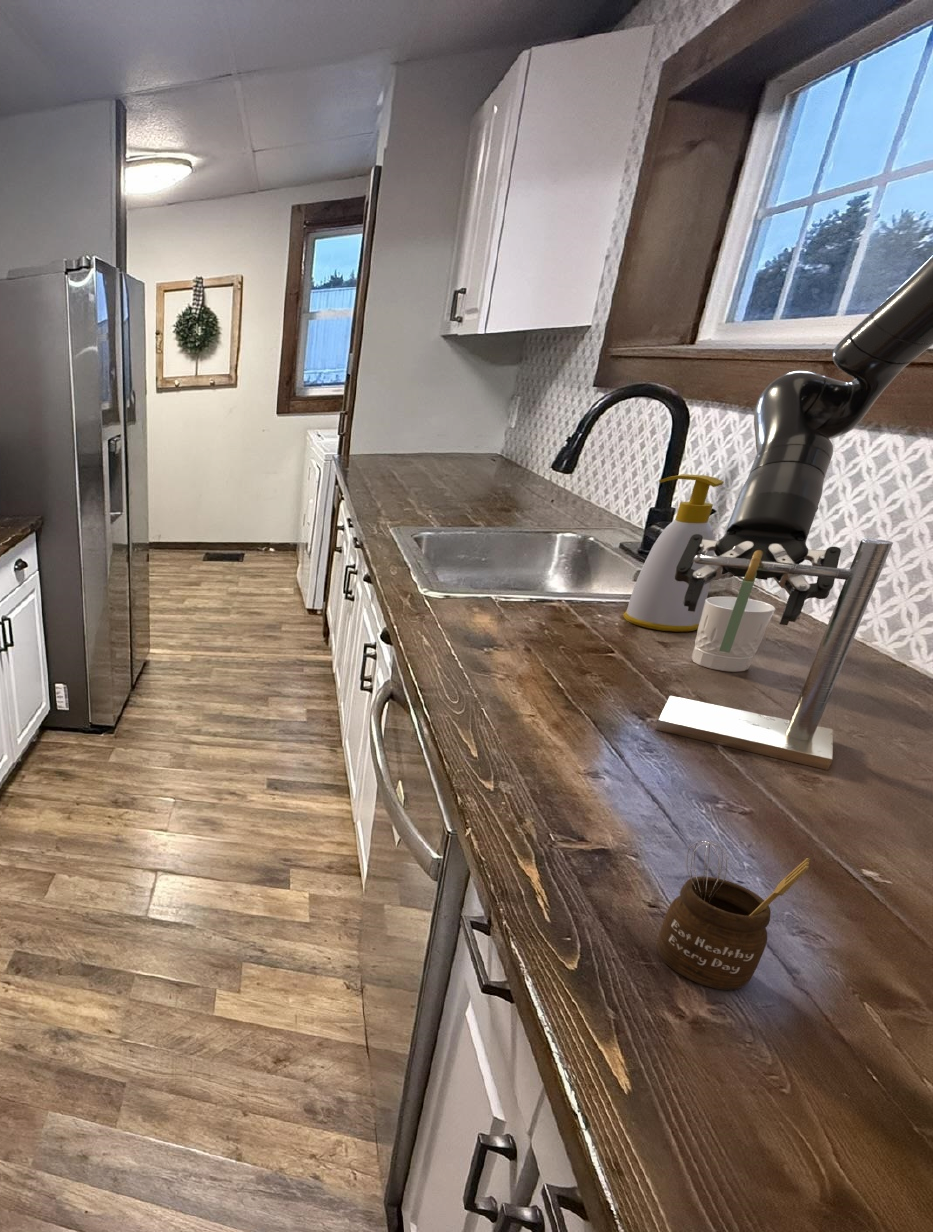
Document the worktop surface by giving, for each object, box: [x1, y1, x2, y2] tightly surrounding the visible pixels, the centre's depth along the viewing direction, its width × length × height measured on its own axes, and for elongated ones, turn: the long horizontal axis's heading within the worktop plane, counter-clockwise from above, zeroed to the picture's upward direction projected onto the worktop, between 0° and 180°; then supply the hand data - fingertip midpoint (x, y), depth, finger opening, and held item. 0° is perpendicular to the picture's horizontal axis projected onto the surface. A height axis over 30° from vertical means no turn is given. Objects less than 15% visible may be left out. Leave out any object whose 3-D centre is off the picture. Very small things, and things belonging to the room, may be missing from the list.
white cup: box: [691, 595, 776, 673], centre depth 111 cm, size 8×8×10 cm
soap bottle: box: [622, 474, 725, 633], centre depth 126 cm, size 11×12×26 cm
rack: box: [654, 538, 894, 771], centre depth 88 cm, size 18×10×26 cm, turn 44°
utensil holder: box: [656, 840, 810, 991], centre depth 56 cm, size 6×6×12 cm
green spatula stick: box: [719, 550, 763, 653], centre depth 89 cm, size 1×6×12 cm, turn 135°
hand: (736, 615), depth 89 cm, fingers open, 8 cm apart
